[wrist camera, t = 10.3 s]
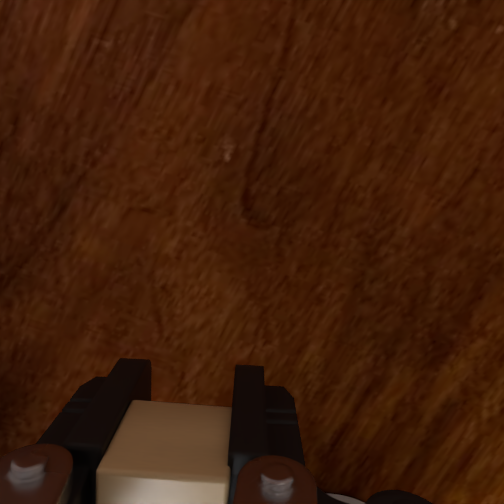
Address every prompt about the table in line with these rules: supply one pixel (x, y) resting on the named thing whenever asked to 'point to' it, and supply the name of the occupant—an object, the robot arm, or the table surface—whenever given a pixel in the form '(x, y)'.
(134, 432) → the brush
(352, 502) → the bottle
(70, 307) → the table surface
